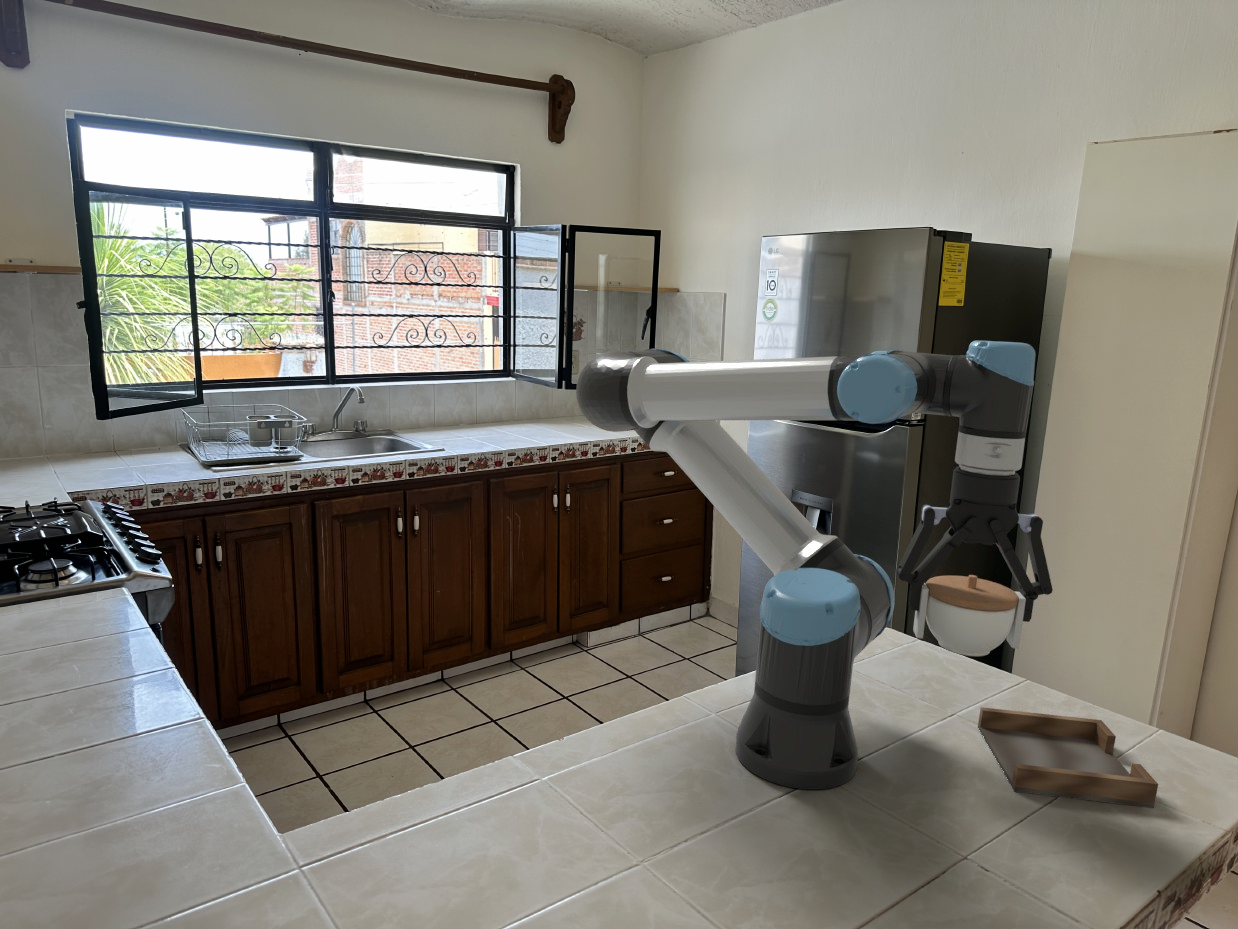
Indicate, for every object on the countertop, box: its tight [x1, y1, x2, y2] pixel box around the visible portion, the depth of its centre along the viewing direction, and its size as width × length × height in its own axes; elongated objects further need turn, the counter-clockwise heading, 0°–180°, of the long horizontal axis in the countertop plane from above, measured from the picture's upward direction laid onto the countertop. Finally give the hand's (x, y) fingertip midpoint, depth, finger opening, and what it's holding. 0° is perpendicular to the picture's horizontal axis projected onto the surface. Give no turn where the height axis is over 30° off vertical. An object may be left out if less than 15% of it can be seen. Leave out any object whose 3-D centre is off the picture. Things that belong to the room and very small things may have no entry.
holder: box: [977, 706, 1159, 809], centre depth 108 cm, size 16×16×3 cm
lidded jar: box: [925, 574, 1018, 657], centre depth 106 cm, size 11×11×9 cm
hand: (964, 639), depth 107 cm, fingers closed on lidded jar, 11 cm apart
